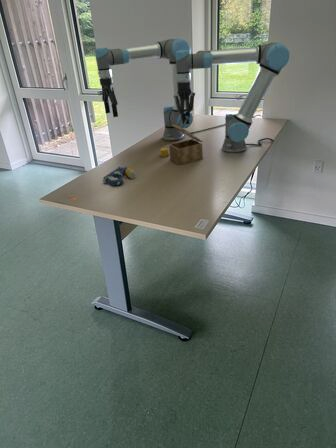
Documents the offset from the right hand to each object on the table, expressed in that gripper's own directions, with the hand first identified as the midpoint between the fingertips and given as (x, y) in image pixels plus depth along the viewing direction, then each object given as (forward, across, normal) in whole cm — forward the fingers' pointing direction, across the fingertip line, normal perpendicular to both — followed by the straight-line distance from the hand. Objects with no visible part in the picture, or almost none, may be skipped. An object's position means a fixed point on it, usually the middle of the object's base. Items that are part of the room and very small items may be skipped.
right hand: (185, 123), depth 198 cm
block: (+22, -9, +15) cm, 28 cm away
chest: (+22, -1, 0) cm, 22 cm away
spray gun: (+22, -46, -4) cm, 51 cm away
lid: (+6, 0, 0) cm, 6 cm away
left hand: (-6, -35, +30) cm, 47 cm away
